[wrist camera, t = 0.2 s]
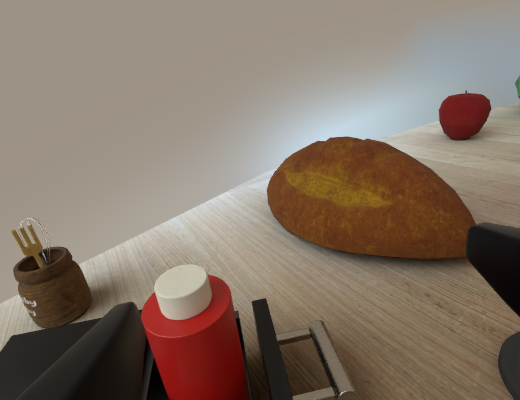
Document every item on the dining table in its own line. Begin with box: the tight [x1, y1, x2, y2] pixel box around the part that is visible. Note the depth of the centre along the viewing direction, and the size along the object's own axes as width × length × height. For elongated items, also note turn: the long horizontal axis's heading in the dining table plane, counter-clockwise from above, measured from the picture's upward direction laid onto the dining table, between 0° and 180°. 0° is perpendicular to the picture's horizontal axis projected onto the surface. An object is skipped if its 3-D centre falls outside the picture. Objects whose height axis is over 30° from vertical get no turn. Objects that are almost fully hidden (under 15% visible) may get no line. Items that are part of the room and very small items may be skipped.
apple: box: [439, 91, 491, 140], centre depth 77 cm, size 11×11×12 cm
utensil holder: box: [12, 218, 92, 328], centre depth 33 cm, size 6×6×12 cm
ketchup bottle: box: [141, 264, 250, 400], centre depth 20 cm, size 5×5×11 cm
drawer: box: [141, 298, 358, 400], centre depth 22 cm, size 14×10×5 cm
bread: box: [267, 137, 476, 260], centre depth 44 cm, size 21×33×12 cm, turn 35°
